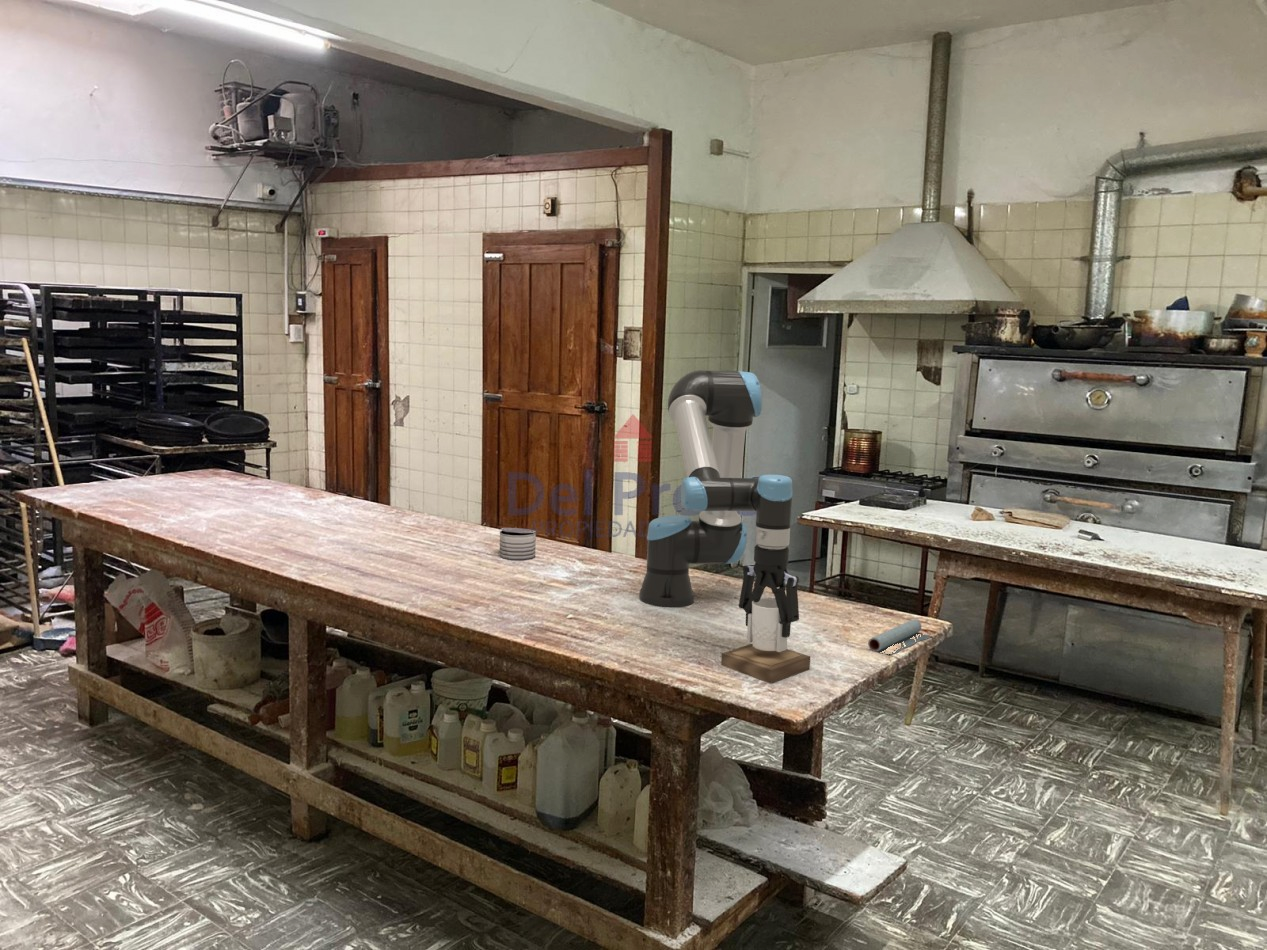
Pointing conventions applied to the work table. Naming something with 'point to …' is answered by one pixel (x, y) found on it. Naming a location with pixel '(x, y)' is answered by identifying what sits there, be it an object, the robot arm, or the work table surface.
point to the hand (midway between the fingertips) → (766, 645)
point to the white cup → (765, 624)
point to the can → (517, 544)
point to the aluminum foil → (898, 637)
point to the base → (765, 663)
